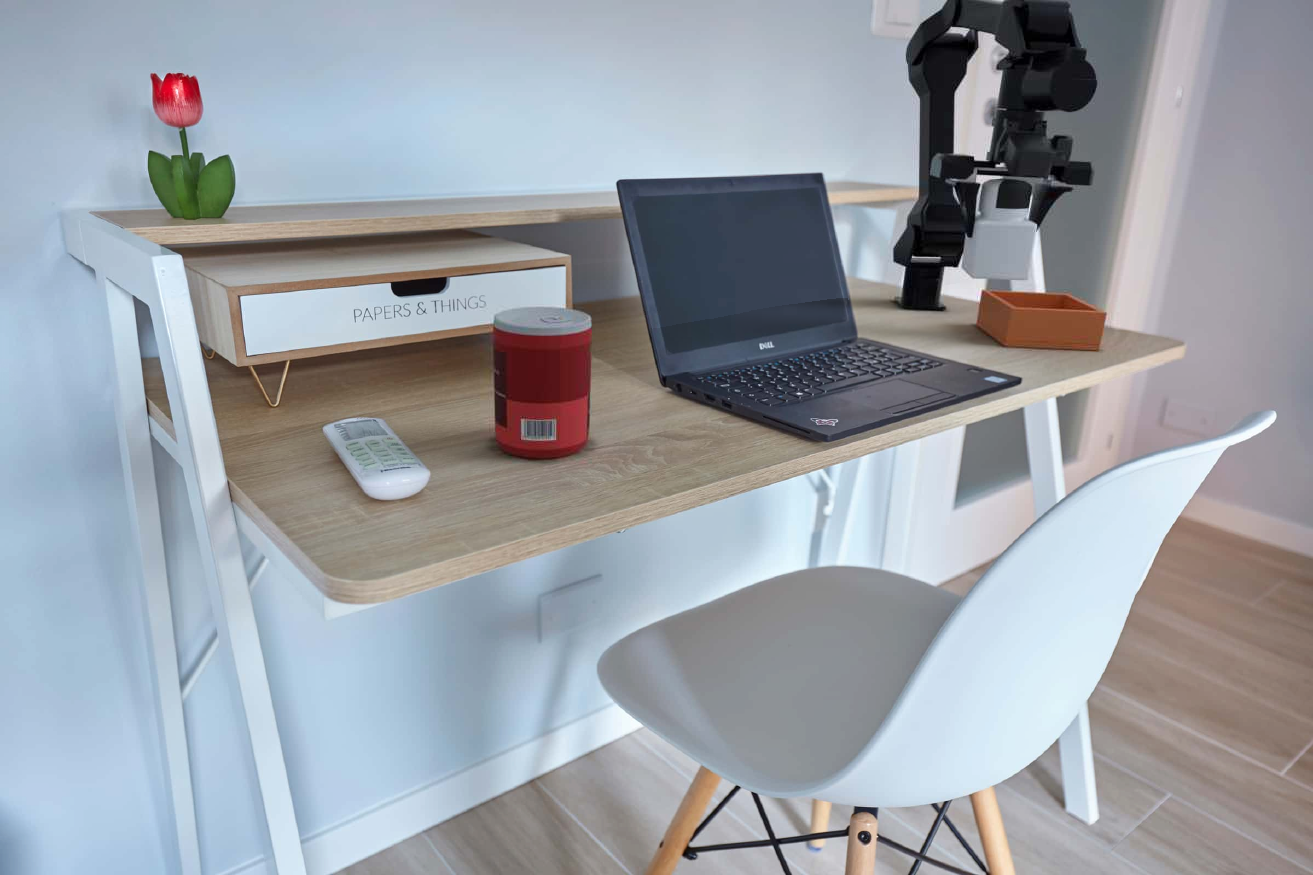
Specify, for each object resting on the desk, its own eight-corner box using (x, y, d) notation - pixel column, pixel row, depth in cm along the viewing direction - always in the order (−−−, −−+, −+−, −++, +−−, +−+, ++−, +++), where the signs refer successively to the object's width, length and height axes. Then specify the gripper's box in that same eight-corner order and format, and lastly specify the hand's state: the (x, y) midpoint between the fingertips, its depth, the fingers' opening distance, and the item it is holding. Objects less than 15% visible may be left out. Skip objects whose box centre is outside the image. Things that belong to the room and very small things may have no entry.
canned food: (607, 446, 79) (611, 319, 75) (532, 468, 74) (531, 332, 70) (551, 422, 84) (552, 302, 80) (477, 441, 79) (473, 313, 75)
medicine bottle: (1015, 270, 124) (1029, 178, 120) (1029, 281, 117) (1044, 183, 113) (960, 268, 125) (973, 176, 120) (971, 278, 118) (984, 181, 114)
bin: (975, 325, 131) (981, 289, 129) (1061, 329, 131) (1068, 293, 129) (1005, 346, 119) (1011, 308, 117) (1099, 350, 119) (1107, 312, 118)
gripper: (962, 107, 107) (941, 244, 112) (1126, 115, 106) (1097, 252, 112) (938, 106, 117) (920, 232, 122) (1087, 114, 117) (1062, 239, 122)
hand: (998, 239), depth 119 cm, fingers closed on medicine bottle, 7 cm apart
